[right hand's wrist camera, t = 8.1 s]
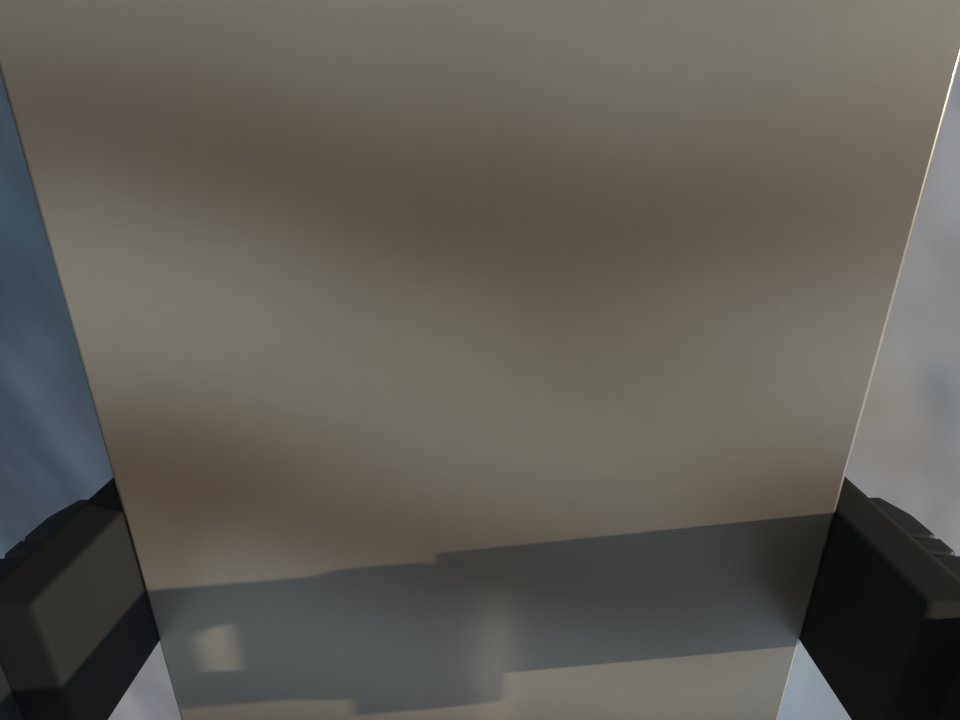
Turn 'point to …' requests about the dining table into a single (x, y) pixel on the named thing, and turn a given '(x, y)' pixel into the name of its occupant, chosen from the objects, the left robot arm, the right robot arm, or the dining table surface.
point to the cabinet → (479, 330)
